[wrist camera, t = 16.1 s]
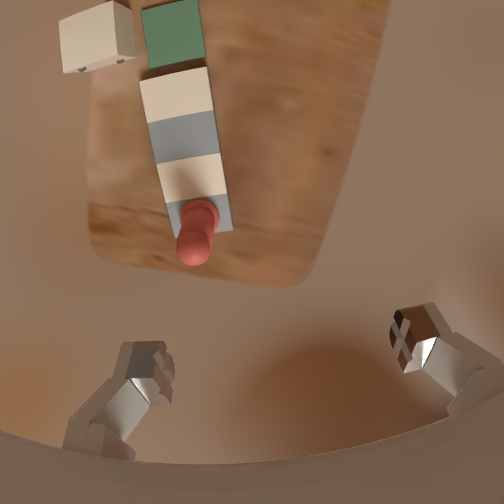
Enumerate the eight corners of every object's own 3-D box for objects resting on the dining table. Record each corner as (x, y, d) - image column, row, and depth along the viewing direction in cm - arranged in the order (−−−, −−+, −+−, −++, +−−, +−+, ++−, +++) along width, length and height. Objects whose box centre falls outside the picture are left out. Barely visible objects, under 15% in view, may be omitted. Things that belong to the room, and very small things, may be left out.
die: (132, 8, 19) (81, 24, 19) (112, -3, 15) (55, 19, 15) (137, 60, 22) (86, 75, 22) (117, 58, 18) (61, 77, 18)
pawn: (177, 201, 29) (162, 240, 23) (216, 196, 29) (210, 234, 23) (185, 235, 31) (174, 279, 25) (222, 231, 31) (219, 274, 25)
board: (142, 81, 23) (139, 81, 22) (207, 67, 23) (206, 66, 22) (176, 233, 32) (175, 238, 31) (233, 225, 32) (233, 230, 31)
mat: (142, 11, 19) (141, 10, 19) (197, -2, 19) (197, -3, 19) (151, 68, 23) (150, 68, 22) (206, 56, 23) (205, 56, 22)
